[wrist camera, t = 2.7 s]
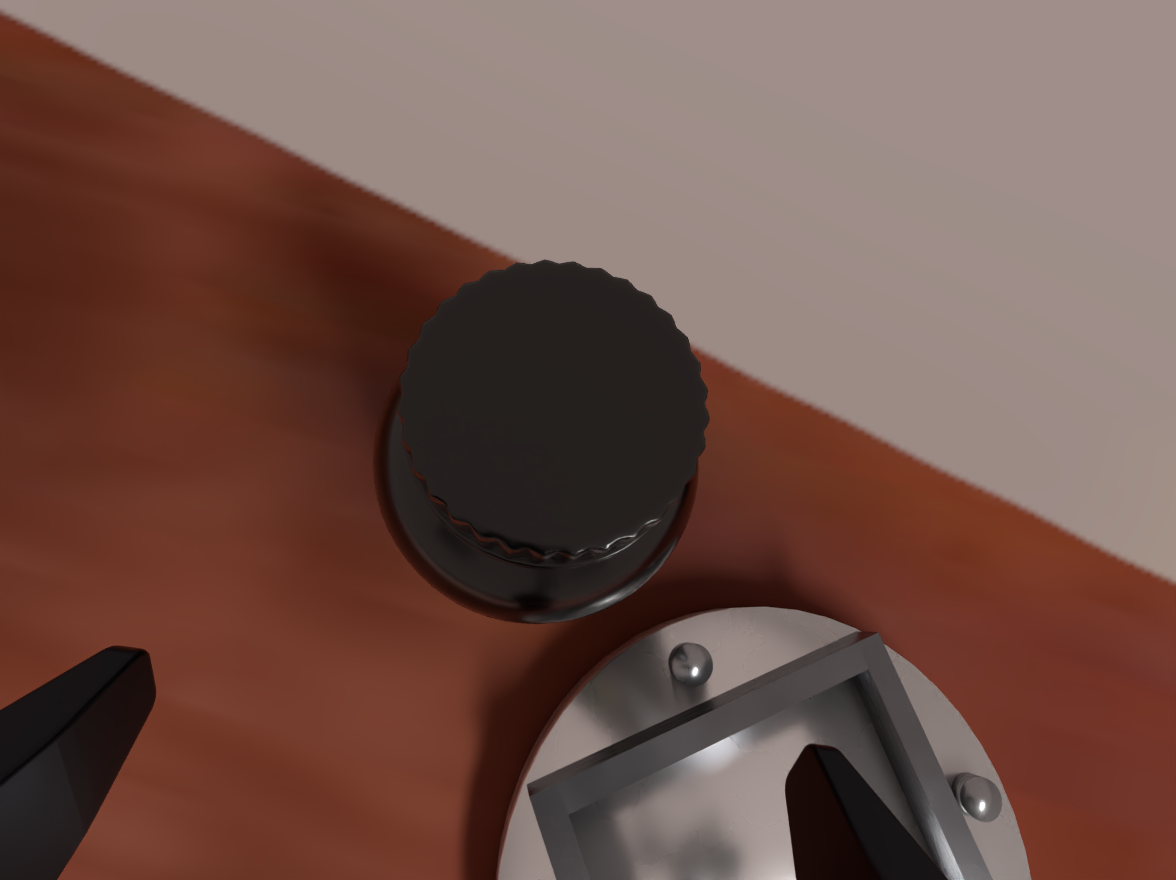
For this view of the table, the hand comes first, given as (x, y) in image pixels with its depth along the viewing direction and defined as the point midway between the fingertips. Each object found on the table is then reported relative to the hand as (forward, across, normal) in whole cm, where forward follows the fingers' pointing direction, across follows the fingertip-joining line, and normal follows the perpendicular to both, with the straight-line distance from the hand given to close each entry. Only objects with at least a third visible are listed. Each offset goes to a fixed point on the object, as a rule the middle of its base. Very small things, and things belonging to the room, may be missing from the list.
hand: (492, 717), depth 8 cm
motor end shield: (+4, -9, +12) cm, 15 cm away
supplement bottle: (+12, 0, +5) cm, 13 cm away
